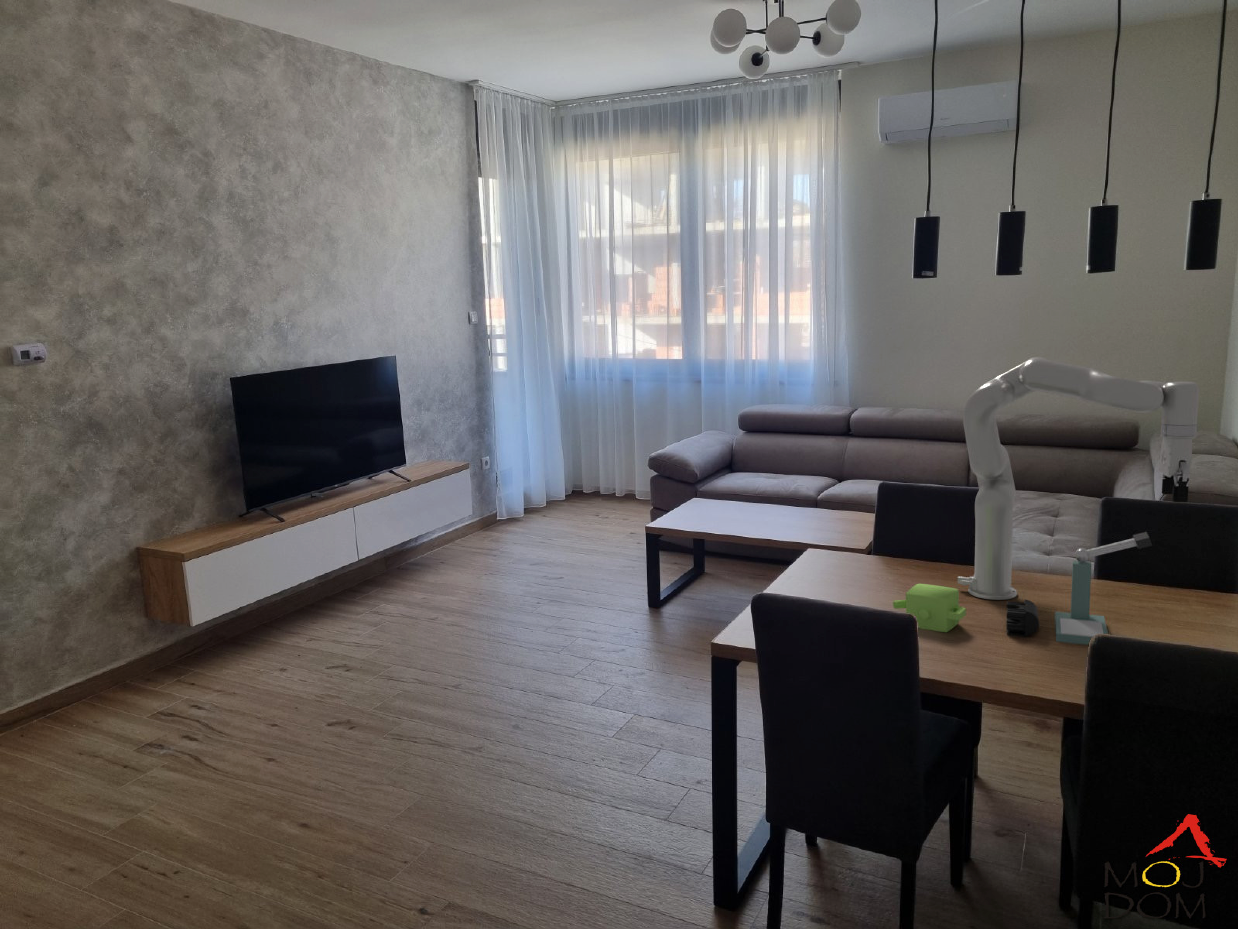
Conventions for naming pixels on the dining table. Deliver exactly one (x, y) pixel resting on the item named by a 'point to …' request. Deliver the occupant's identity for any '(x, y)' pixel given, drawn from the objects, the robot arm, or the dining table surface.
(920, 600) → the gearbox
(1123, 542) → the press lever
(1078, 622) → the press frame
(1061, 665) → the dining table surface
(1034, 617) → the end cap
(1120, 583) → the dining table surface
